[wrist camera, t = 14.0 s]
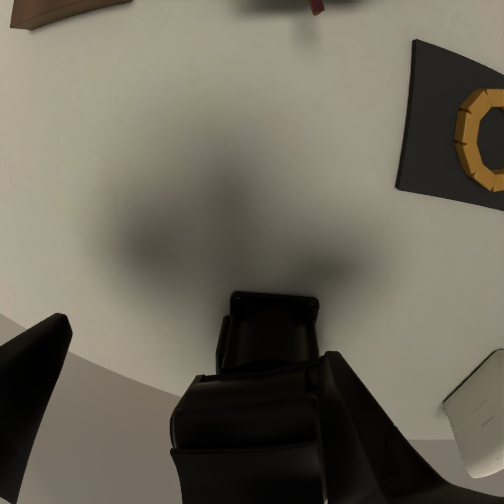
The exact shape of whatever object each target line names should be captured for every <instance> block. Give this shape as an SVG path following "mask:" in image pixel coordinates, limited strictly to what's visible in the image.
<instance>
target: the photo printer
mask: <svg viewBox="0 0 504 504" xmlns="http://www.w3.org/2000/svg"><path fill="white" fill-rule="evenodd" d="M444 408H445V411H446V414H447V416H448V419H449V422H450V425H451V427H452V430H453V433H454V436H455V439H456V441H457V444H458V447H459V450H460V453H461V457H462V459H463V463H464V466H465V468H466V470H467V472H468V474H469V475H470V476H471V477H473V478H474V479H475V478H481V477H485V476H488V475H491V474H493V473H496V472H498V471H500V470H502V469H503V468H504V350H497V351H496V352H495V353H493V354H492V355H491V356H490V357H489V358H488V359H487V360H486V361H485V362H484V363H483V364H482V366H481V367H480V368H479V369H478V370H477V371H476V372H475V373H474V374H473V375H472V376H471V377H470V378H469V379H468V380H467V381H466V382H465V383H464V384H463V385H462V386H461V387H460V388H458V389H457V390H456V391H455V392H454V393H453V394H452V395H451V396H450V397H449V398H448V399H447V400H446V401H445V403H444Z"/></svg>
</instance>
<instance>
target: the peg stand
mask: <svg viewBox="0 0 504 504" xmlns="http://www.w3.org/2000/svg"><path fill="white" fill-rule="evenodd" d="M130 1H132V0H14V4H13V10H12V17H11V24H10V28H15V29H26V30H32V29H34V28H37V27H40V26H42V25H45V24H48V23H51V22H54V21H57V20H60V19H63V18H66V17H69V16H72V15H76V14H79V13H83V12H86V11H90V10H94V9H98V8H102V7H106V6H110V5H115V4H120V3H125V2H130Z"/></svg>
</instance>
